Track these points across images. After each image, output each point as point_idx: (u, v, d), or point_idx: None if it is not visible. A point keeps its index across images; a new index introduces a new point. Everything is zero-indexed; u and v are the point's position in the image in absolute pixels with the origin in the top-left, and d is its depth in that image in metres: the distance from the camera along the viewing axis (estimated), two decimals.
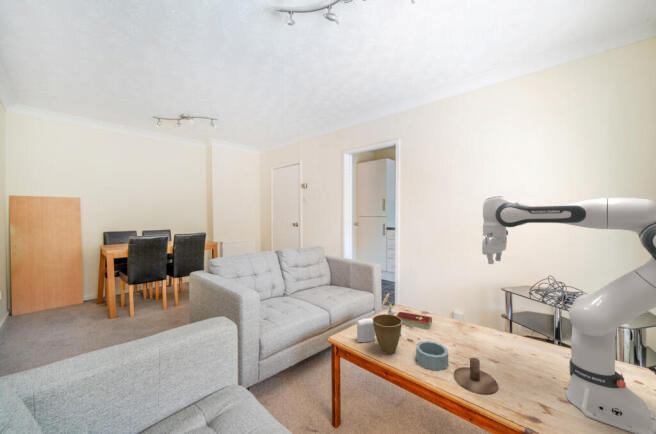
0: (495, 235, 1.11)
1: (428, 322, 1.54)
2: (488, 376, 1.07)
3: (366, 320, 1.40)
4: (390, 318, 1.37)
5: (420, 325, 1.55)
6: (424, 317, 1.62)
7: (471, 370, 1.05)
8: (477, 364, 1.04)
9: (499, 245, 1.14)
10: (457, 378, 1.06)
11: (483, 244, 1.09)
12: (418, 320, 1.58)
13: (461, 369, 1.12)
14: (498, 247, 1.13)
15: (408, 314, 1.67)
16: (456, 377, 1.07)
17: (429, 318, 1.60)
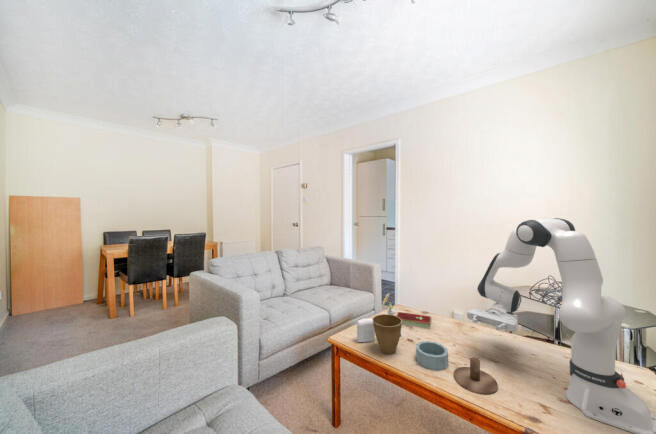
0: None
1: (429, 322, 1.55)
2: (488, 376, 1.07)
3: (366, 320, 1.40)
4: (390, 318, 1.37)
5: (421, 325, 1.55)
6: (424, 317, 1.62)
7: (471, 370, 1.05)
8: (477, 364, 1.04)
9: (493, 316, 1.18)
10: (457, 378, 1.06)
11: None
12: (419, 320, 1.58)
13: (461, 369, 1.12)
14: (489, 315, 1.19)
15: (407, 314, 1.67)
16: (456, 377, 1.07)
17: (429, 317, 1.61)
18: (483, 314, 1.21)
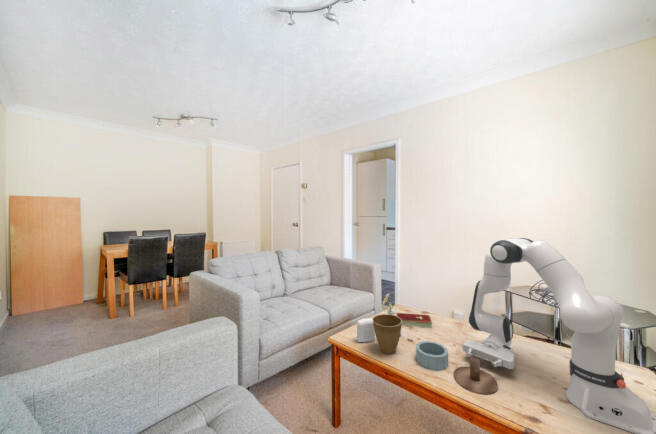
0: (482, 342, 1.21)
1: (430, 321, 1.56)
2: (487, 375, 1.08)
3: (366, 320, 1.40)
4: (390, 318, 1.37)
5: (423, 325, 1.55)
6: (423, 316, 1.63)
7: (471, 370, 1.05)
8: (477, 364, 1.04)
9: (489, 350, 1.15)
10: (458, 379, 1.06)
11: None
12: (420, 320, 1.58)
13: (460, 369, 1.12)
14: (485, 349, 1.15)
15: (407, 315, 1.66)
16: (457, 378, 1.06)
17: (428, 316, 1.62)
18: (479, 347, 1.17)
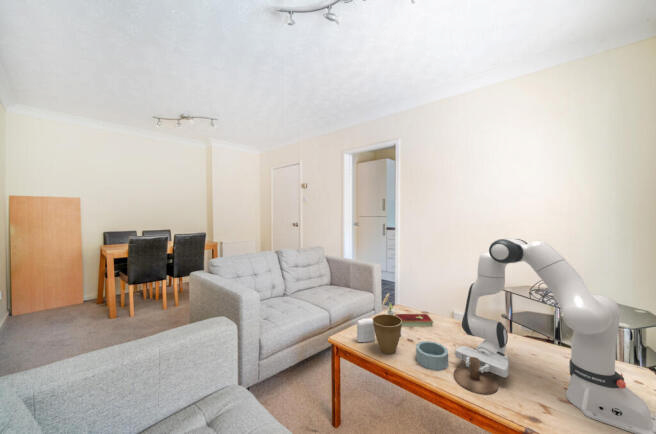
0: (475, 348, 1.16)
1: (430, 320, 1.58)
2: (486, 374, 1.08)
3: (366, 320, 1.40)
4: (390, 318, 1.37)
5: (424, 324, 1.56)
6: (422, 315, 1.65)
7: (472, 370, 1.05)
8: (478, 363, 1.04)
9: (482, 357, 1.09)
10: (459, 379, 1.05)
11: None
12: (421, 319, 1.58)
13: (459, 369, 1.12)
14: (478, 356, 1.10)
15: (406, 315, 1.66)
16: (457, 378, 1.06)
17: (427, 315, 1.64)
18: (472, 354, 1.12)
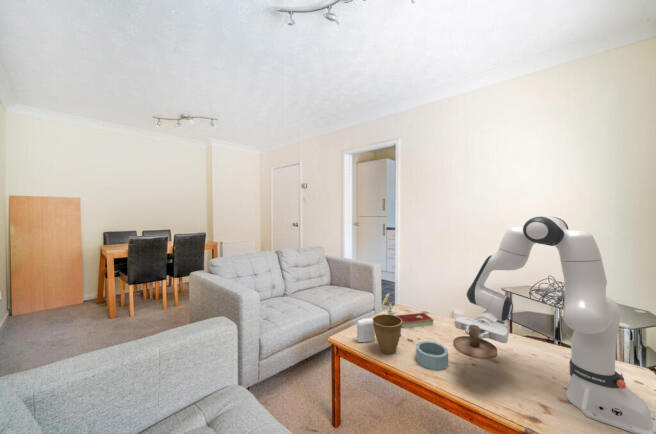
0: (475, 319, 1.16)
1: (430, 318, 1.60)
2: (485, 342, 1.08)
3: (366, 320, 1.40)
4: (390, 318, 1.37)
5: (426, 323, 1.57)
6: (420, 314, 1.66)
7: (471, 337, 1.05)
8: (477, 330, 1.04)
9: (482, 325, 1.09)
10: (458, 346, 1.05)
11: None
12: (422, 319, 1.59)
13: (459, 338, 1.11)
14: (478, 324, 1.10)
15: (405, 316, 1.64)
16: (457, 346, 1.05)
17: (424, 314, 1.66)
18: (471, 323, 1.12)
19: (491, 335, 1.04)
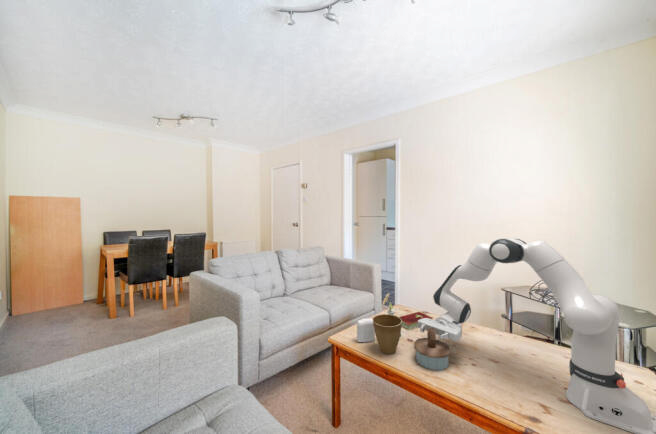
0: None
1: (429, 316, 1.63)
2: (442, 343, 1.23)
3: (366, 320, 1.40)
4: (390, 318, 1.37)
5: None
6: (417, 314, 1.67)
7: (428, 338, 1.19)
8: (433, 333, 1.18)
9: (439, 325, 1.24)
10: (417, 347, 1.19)
11: None
12: (422, 318, 1.60)
13: (420, 340, 1.26)
14: (436, 325, 1.25)
15: (406, 317, 1.63)
16: (416, 346, 1.20)
17: (421, 313, 1.68)
18: (431, 323, 1.26)
19: None
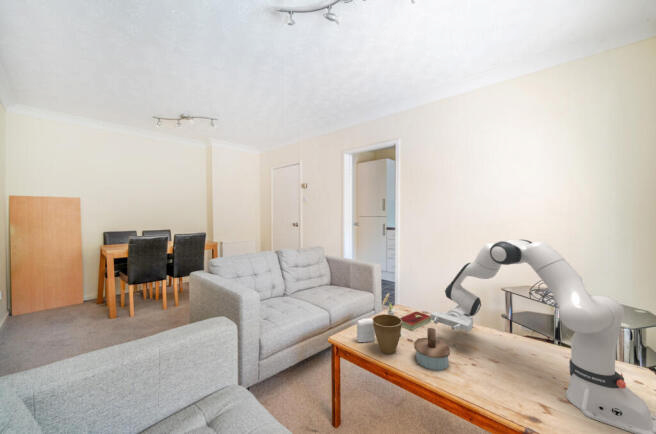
0: None
1: (428, 315, 1.64)
2: (442, 343, 1.23)
3: (366, 320, 1.40)
4: (390, 318, 1.37)
5: (426, 321, 1.60)
6: (416, 313, 1.68)
7: (428, 338, 1.19)
8: (433, 333, 1.18)
9: (452, 317, 1.33)
10: (417, 347, 1.19)
11: None
12: (422, 317, 1.61)
13: (420, 340, 1.26)
14: (448, 317, 1.33)
15: (406, 317, 1.62)
16: (416, 346, 1.20)
17: (419, 312, 1.69)
18: (443, 316, 1.35)
19: None
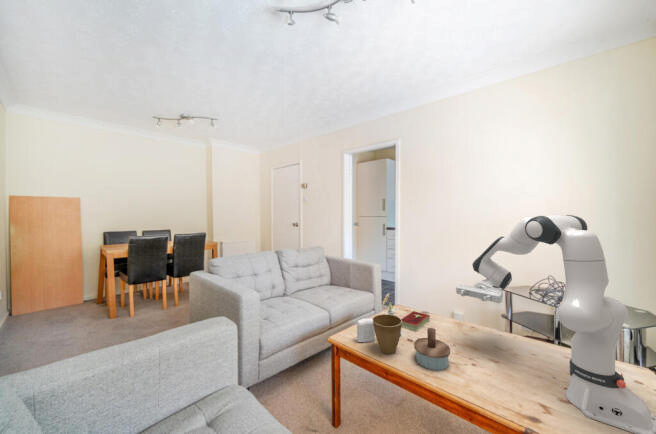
0: None
1: (426, 314, 1.66)
2: (442, 343, 1.23)
3: (366, 320, 1.40)
4: (390, 318, 1.37)
5: (426, 320, 1.61)
6: (414, 313, 1.68)
7: (428, 338, 1.19)
8: (433, 333, 1.18)
9: (480, 290, 1.26)
10: (417, 347, 1.19)
11: None
12: (422, 317, 1.62)
13: (420, 340, 1.26)
14: (476, 289, 1.27)
15: (407, 318, 1.61)
16: (416, 346, 1.20)
17: (416, 312, 1.70)
18: (471, 288, 1.28)
19: None
